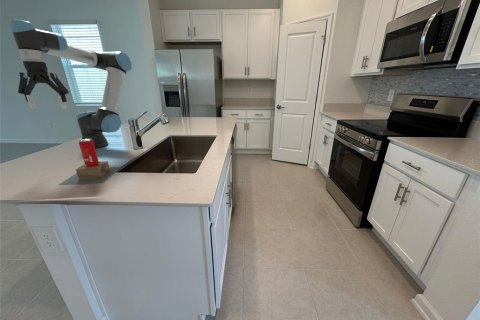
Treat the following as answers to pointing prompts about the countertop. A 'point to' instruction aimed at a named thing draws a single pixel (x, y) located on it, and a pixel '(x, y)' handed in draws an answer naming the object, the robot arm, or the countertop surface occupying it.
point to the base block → (93, 171)
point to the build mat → (75, 179)
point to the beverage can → (88, 152)
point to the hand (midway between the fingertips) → (49, 109)
